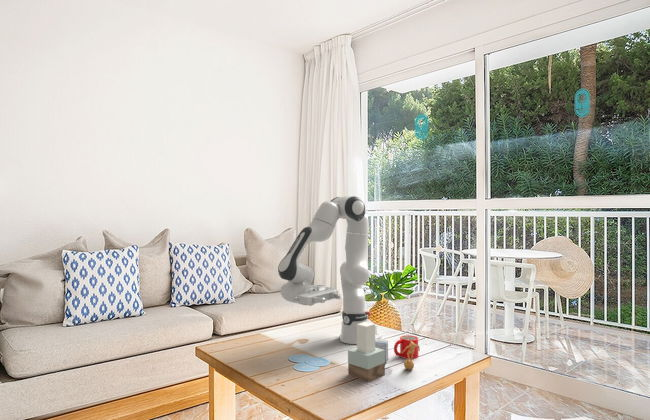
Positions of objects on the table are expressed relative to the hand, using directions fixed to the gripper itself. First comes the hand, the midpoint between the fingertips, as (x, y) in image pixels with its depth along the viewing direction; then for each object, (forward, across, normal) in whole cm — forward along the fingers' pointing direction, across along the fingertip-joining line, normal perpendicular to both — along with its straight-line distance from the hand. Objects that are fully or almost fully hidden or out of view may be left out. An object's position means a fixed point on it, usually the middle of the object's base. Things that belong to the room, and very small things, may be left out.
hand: (331, 298), depth 178 cm
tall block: (+18, -1, +18) cm, 25 cm away
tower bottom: (+18, -1, +28) cm, 33 cm away
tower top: (+18, -1, +23) cm, 29 cm away
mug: (+17, +28, +28) cm, 43 cm away
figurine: (+28, +15, +28) cm, 42 cm away
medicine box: (+12, +15, +28) cm, 34 cm away
